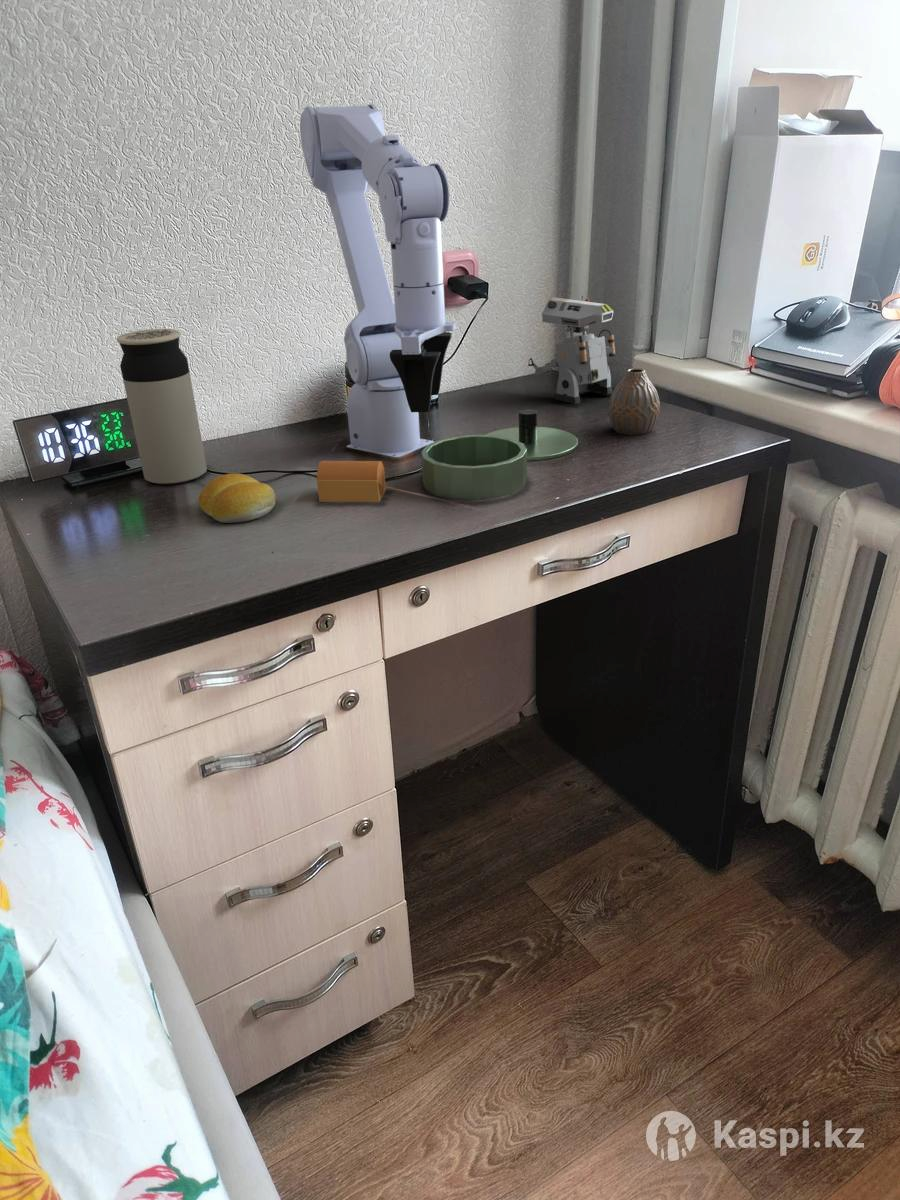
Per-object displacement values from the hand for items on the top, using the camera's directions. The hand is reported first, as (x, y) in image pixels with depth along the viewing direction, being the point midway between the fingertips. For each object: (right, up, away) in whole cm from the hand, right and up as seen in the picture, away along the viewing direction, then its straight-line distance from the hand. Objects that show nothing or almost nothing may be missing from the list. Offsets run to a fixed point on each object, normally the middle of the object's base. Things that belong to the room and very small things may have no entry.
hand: (425, 402), depth 105 cm
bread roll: (-22, -13, -3) cm, 26 cm away
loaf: (-9, -12, -1) cm, 14 cm away
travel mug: (-33, -8, +9) cm, 35 cm away
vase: (+29, -1, +17) cm, 33 cm away
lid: (+13, -3, +12) cm, 18 cm away
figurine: (+23, +9, +35) cm, 43 cm away
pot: (+6, -10, +1) cm, 12 cm away
